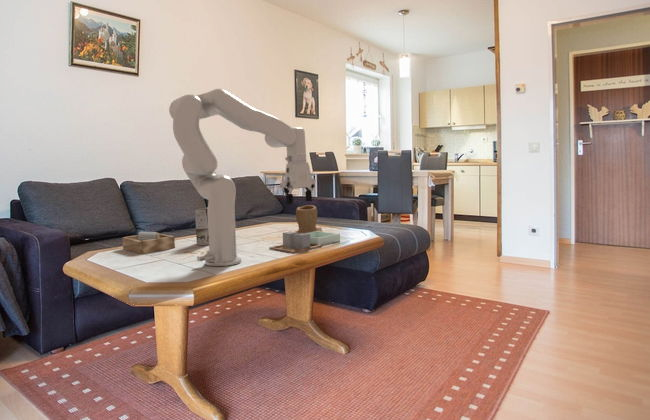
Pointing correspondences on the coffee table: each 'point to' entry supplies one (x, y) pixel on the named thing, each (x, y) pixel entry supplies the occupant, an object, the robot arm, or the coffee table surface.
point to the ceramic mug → (148, 236)
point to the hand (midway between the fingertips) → (299, 202)
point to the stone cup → (307, 219)
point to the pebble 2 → (302, 241)
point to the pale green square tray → (323, 237)
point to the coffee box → (202, 226)
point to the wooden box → (148, 244)
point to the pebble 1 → (289, 239)
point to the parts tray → (293, 250)
